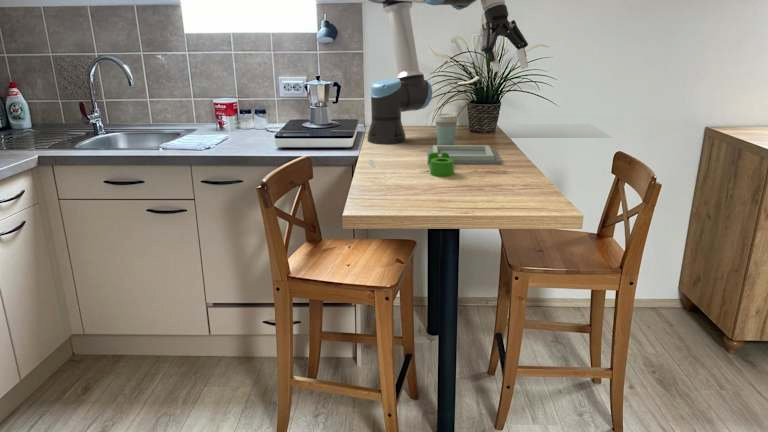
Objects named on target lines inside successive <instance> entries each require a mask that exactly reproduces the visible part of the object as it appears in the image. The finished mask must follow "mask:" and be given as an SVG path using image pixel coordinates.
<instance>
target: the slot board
mask: <svg viewBox="0 0 768 432" xmlns="http://www.w3.org/2000/svg"><path fill="white" fill-rule="evenodd" d="M431 152H438V158H441V155H442V152H447V153H448V155H449V158H450V159H453V160H454V165H502V164H501V163H502V161H501V159H500V158H499V157H500V156H499V155H498V154H497V152H496V150H495V148H491V147H490V145H488V144H487V145H485V144H484V145H483V144H482V145H480V144H477V145H476V144H475V145H473V144H472V145H471V144H469V145H468V144H466V145H465V144H460V145H458V144H457V145H456V144H454V145H438V144H436V145H435V144H433V145H432V148H427V149H426V155H427V164H428V163H429V153H431Z"/></svg>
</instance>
